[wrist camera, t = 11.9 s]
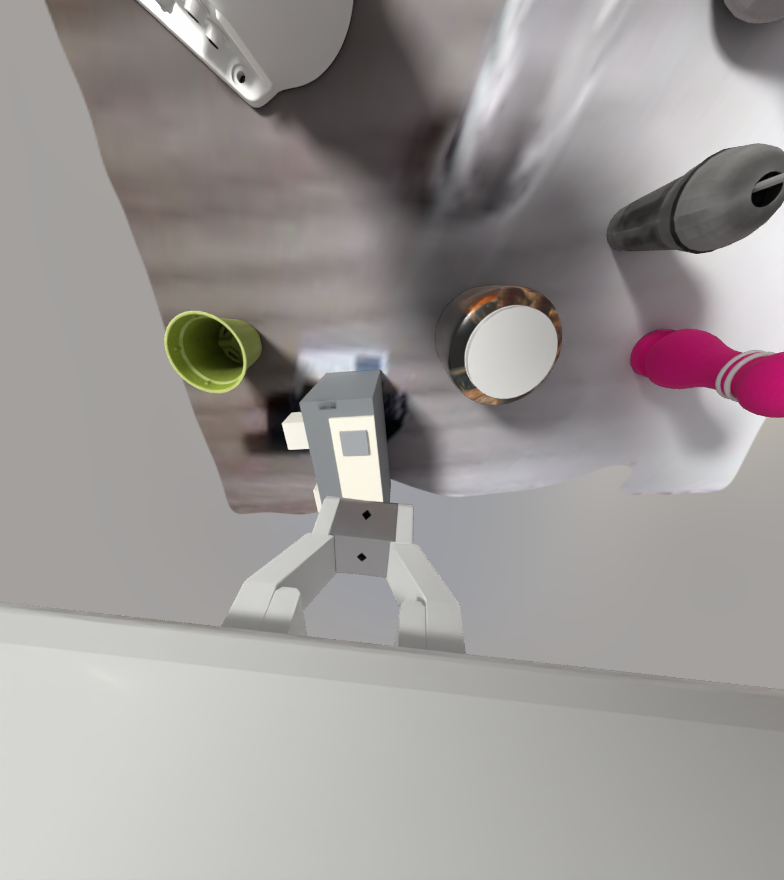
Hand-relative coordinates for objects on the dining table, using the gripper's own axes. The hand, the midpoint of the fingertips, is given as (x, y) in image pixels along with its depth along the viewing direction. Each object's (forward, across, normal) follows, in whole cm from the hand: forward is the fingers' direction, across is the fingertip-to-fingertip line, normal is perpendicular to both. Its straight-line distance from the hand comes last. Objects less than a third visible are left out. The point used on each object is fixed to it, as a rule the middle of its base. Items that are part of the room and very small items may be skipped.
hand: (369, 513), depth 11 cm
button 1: (+27, +11, +13) cm, 32 cm away
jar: (+36, -10, +2) cm, 38 cm away
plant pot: (+35, +23, +6) cm, 42 cm away
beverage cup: (+38, -25, -11) cm, 47 cm away
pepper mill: (+37, -35, +2) cm, 51 cm away
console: (+34, +5, +18) cm, 39 cm away
